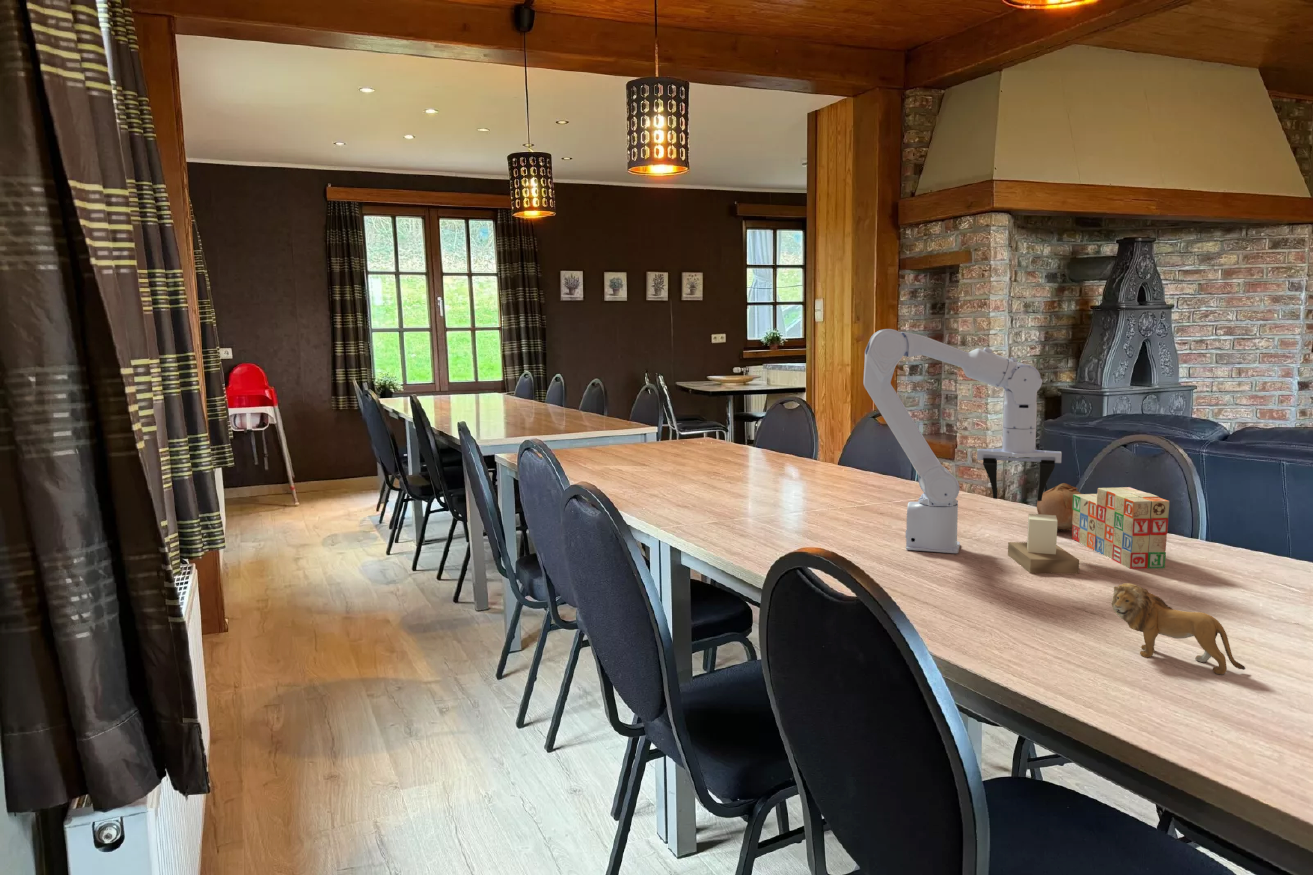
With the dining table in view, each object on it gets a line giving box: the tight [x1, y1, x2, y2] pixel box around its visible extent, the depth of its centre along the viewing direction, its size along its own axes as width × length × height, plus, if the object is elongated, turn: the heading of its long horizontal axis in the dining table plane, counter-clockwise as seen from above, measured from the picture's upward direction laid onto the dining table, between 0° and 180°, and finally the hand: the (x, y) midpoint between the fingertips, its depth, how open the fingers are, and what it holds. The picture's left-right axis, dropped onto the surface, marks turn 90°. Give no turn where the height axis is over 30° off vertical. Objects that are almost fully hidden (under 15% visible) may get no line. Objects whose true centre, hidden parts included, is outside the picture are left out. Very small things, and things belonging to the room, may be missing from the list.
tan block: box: [1007, 541, 1080, 575], centre depth 149 cm, size 8×12×3 cm, turn 175°
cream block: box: [1026, 513, 1058, 554], centre depth 148 cm, size 4×4×6 cm
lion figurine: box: [1111, 582, 1246, 675], centre depth 105 cm, size 15×5×9 cm, turn 52°
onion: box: [1036, 482, 1082, 532], centre depth 172 cm, size 10×9×10 cm
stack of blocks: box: [1071, 486, 1170, 570], centre depth 155 cm, size 21×6×12 cm, turn 0°
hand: (1017, 498), depth 158 cm, fingers open, 7 cm apart
